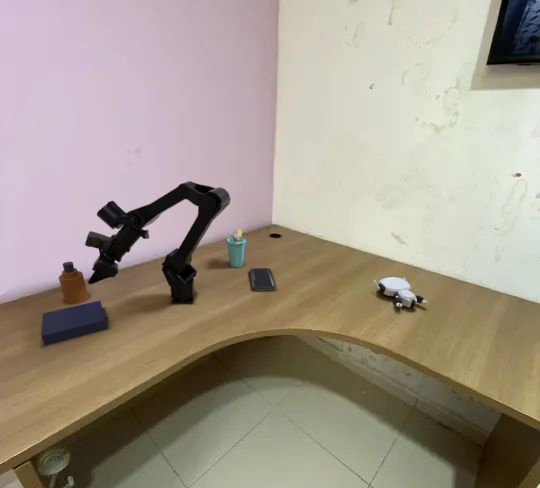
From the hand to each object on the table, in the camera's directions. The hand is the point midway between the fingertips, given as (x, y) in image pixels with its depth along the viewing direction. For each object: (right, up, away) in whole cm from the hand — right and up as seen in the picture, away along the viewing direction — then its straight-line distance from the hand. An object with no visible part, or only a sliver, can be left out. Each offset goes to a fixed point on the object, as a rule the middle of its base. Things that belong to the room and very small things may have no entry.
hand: (91, 276), depth 95 cm
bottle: (-5, -7, +1) cm, 9 cm away
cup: (+42, +3, +27) cm, 50 cm away
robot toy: (+98, -8, +9) cm, 99 cm away
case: (+2, -13, -11) cm, 17 cm away
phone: (+52, -2, +17) cm, 55 cm away
